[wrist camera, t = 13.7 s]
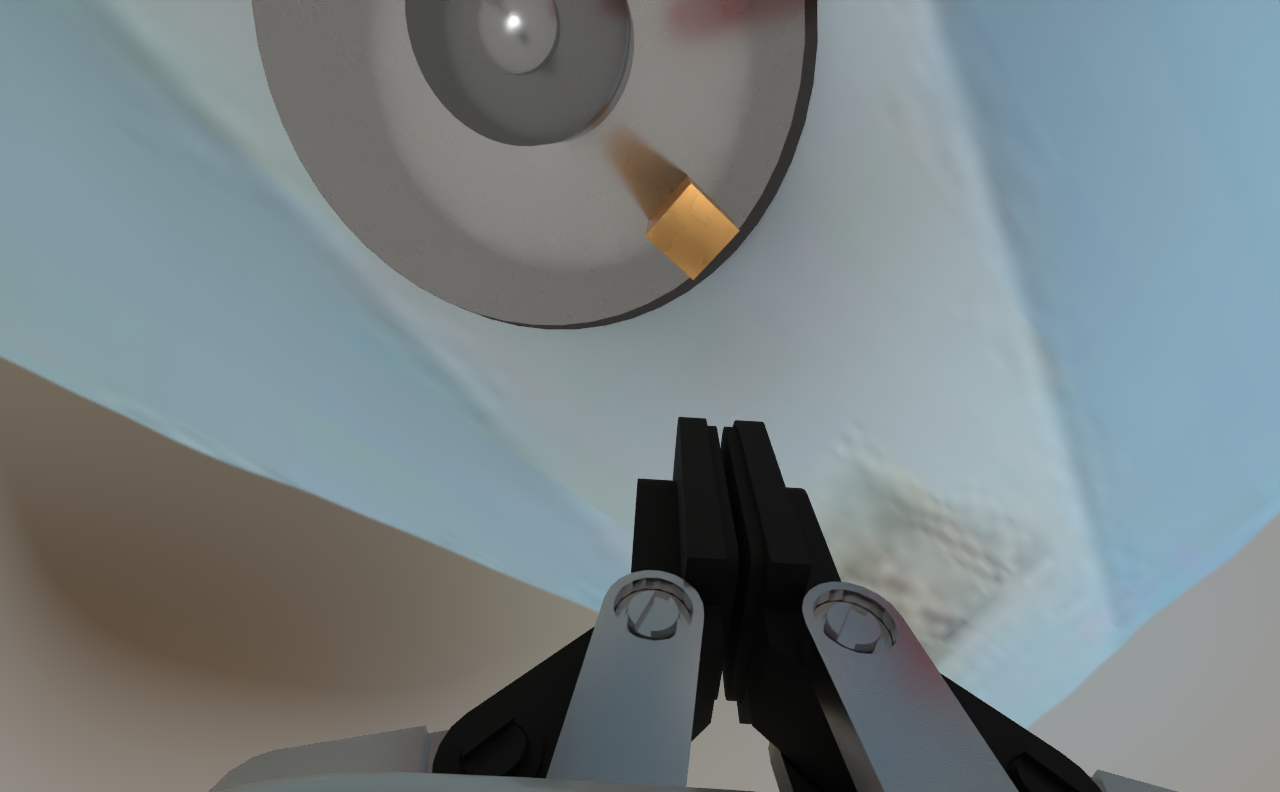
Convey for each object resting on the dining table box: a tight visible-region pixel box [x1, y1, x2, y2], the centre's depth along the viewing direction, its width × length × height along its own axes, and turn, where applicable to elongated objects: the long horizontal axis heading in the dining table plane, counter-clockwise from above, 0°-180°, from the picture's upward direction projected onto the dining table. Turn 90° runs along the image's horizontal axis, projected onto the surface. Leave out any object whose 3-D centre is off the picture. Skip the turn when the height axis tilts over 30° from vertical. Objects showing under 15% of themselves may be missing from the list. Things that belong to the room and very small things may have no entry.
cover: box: [405, 0, 634, 146], centre depth 19 cm, size 7×7×5 cm
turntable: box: [252, 0, 805, 325], centre depth 20 cm, size 21×21×6 cm
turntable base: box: [458, 0, 817, 329], centre depth 24 cm, size 23×23×1 cm
